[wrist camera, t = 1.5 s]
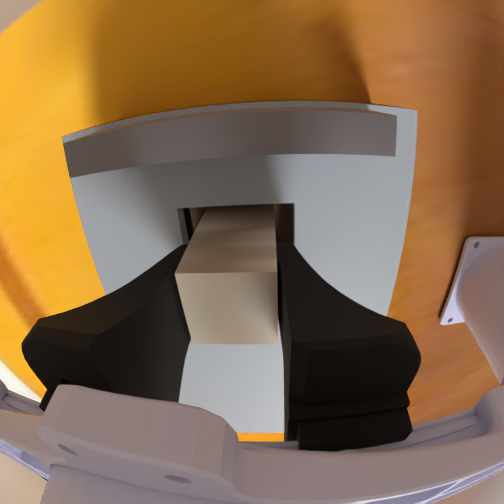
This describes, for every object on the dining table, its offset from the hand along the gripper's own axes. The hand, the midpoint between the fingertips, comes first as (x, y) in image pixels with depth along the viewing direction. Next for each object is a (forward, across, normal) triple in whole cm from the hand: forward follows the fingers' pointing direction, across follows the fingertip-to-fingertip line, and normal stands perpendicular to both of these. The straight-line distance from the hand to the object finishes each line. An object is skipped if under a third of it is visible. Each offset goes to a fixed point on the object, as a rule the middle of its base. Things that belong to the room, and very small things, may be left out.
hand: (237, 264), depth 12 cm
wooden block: (+3, 0, 0) cm, 3 cm away
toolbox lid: (+1, 0, +5) cm, 5 cm away
